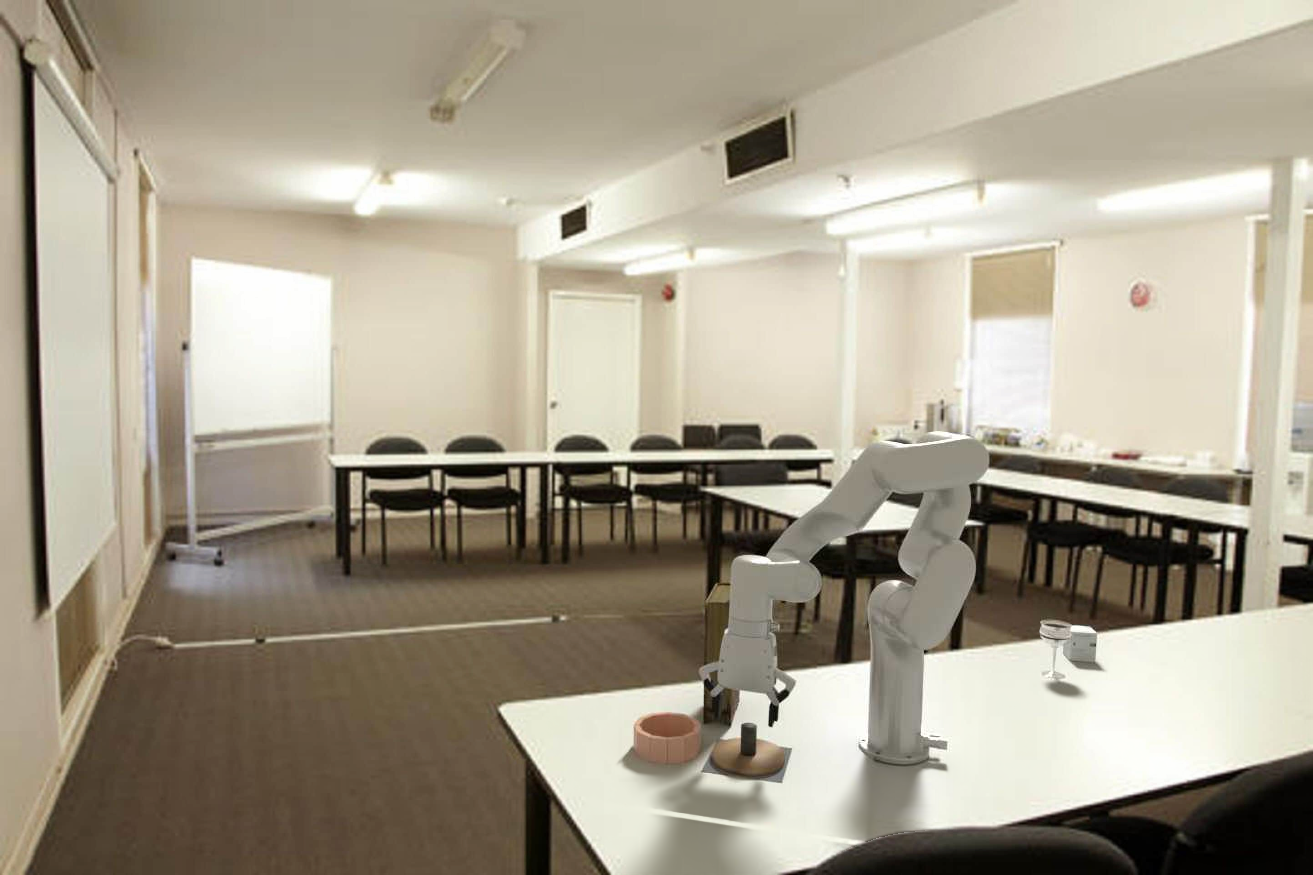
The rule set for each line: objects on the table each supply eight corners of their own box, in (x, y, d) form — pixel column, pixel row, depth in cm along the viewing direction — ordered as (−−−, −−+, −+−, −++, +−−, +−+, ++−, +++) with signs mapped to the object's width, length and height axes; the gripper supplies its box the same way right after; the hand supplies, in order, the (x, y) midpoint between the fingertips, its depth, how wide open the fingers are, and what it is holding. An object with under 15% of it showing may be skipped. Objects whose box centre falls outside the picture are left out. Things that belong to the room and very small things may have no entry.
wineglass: (1074, 679, 202) (1077, 628, 201) (1044, 679, 202) (1047, 628, 201) (1061, 669, 209) (1064, 619, 208) (1032, 669, 209) (1035, 619, 208)
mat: (792, 751, 164) (792, 748, 164) (781, 785, 150) (781, 782, 150) (717, 741, 167) (717, 738, 167) (701, 774, 154) (701, 771, 154)
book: (714, 696, 190) (716, 581, 188) (740, 698, 189) (742, 583, 187) (703, 727, 174) (705, 602, 172) (730, 729, 173) (733, 604, 171)
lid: (789, 748, 163) (790, 716, 163) (779, 780, 151) (780, 745, 150) (719, 740, 167) (720, 708, 166) (704, 770, 154) (705, 735, 154)
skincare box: (1069, 661, 216) (1071, 631, 215) (1062, 652, 222) (1063, 624, 221) (1096, 662, 215) (1097, 632, 214) (1088, 654, 221) (1089, 625, 220)
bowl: (706, 742, 167) (706, 716, 166) (691, 770, 155) (691, 742, 155) (645, 734, 170) (645, 709, 170) (626, 761, 159) (626, 734, 158)
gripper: (801, 626, 158) (795, 719, 159) (706, 614, 162) (701, 705, 164) (796, 638, 151) (790, 736, 152) (697, 625, 155) (692, 720, 157)
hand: (744, 720), depth 158 cm, fingers open, 9 cm apart
